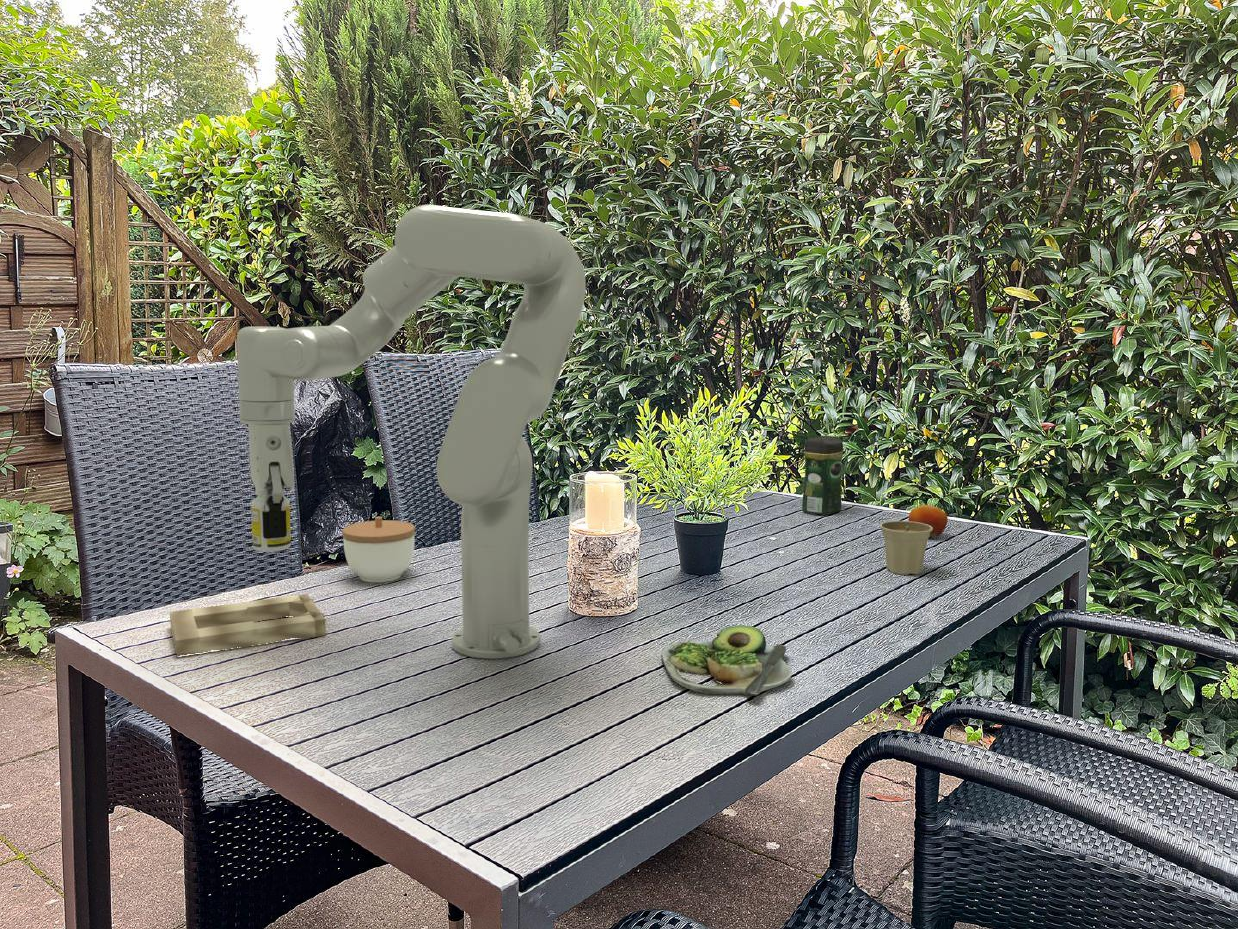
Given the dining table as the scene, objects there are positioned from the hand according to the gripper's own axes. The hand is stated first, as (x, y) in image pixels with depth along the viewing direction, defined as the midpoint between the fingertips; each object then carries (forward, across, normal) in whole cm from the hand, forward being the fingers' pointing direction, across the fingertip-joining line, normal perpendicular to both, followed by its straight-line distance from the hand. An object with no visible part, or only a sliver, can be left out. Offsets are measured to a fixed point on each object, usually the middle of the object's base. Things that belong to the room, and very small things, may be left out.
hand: (271, 531), depth 140 cm
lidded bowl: (+15, +20, -21) cm, 32 cm away
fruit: (+13, -2, -134) cm, 135 cm away
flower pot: (+13, -20, -109) cm, 112 cm away
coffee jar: (+13, +28, -130) cm, 134 cm away
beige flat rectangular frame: (+15, 0, +4) cm, 15 cm away
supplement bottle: (+3, 0, 0) cm, 3 cm away
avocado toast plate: (+14, -46, -51) cm, 70 cm away
